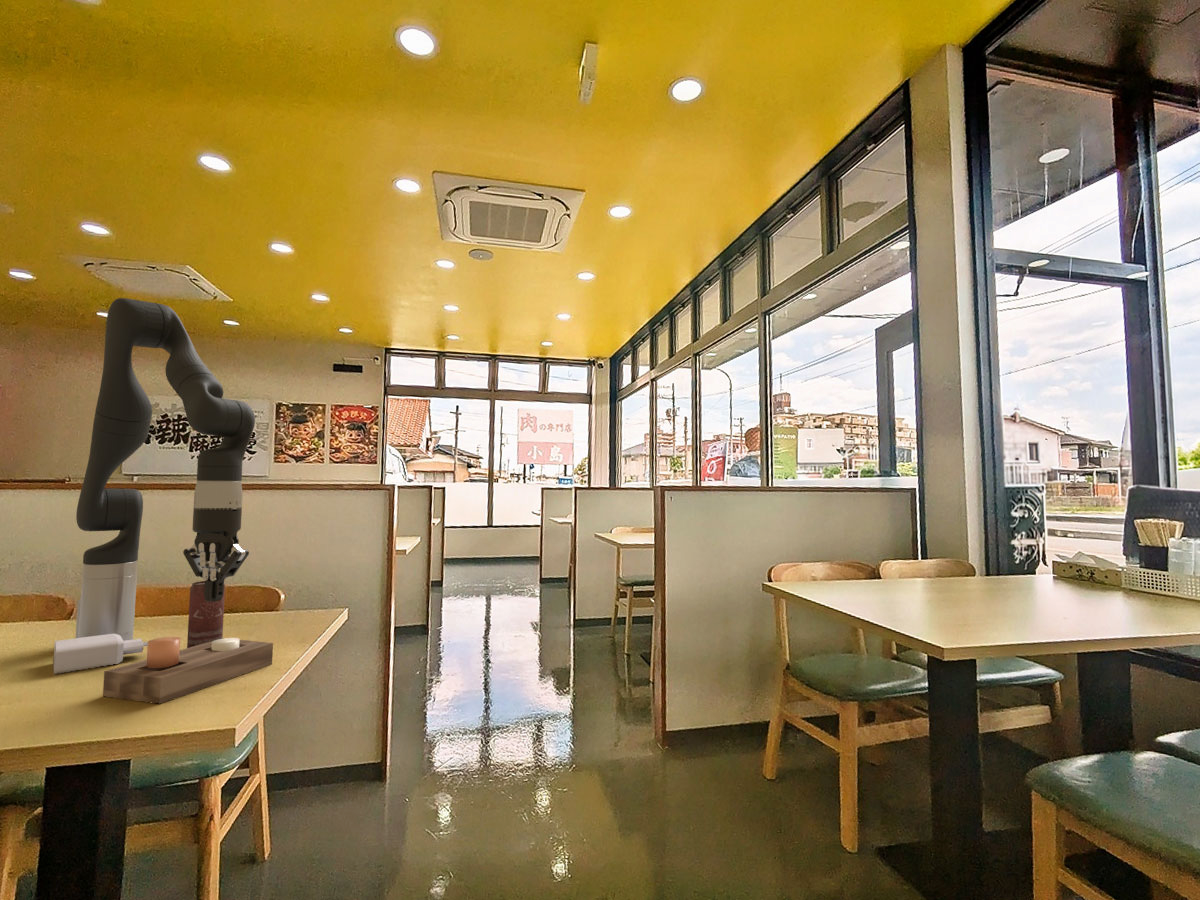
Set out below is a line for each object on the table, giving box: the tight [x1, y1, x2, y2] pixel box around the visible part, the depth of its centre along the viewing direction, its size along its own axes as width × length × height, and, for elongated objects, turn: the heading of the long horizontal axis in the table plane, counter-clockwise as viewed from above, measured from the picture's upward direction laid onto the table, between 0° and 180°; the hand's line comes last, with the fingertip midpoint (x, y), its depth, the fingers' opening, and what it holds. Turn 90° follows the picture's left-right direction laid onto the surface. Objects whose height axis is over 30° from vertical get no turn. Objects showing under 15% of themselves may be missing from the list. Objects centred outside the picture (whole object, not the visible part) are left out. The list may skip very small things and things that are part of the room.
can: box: [186, 580, 226, 648], centre depth 123 cm, size 6×6×14 cm
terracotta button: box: [146, 636, 181, 668], centre depth 99 cm, size 4×4×4 cm
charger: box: [52, 634, 148, 675], centre depth 115 cm, size 5×9×15 cm
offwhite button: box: [211, 637, 241, 652], centre depth 110 cm, size 4×4×4 cm
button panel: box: [102, 637, 274, 705], centre depth 105 cm, size 12×22×4 cm, turn 165°
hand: (213, 600), depth 108 cm, fingers closed
